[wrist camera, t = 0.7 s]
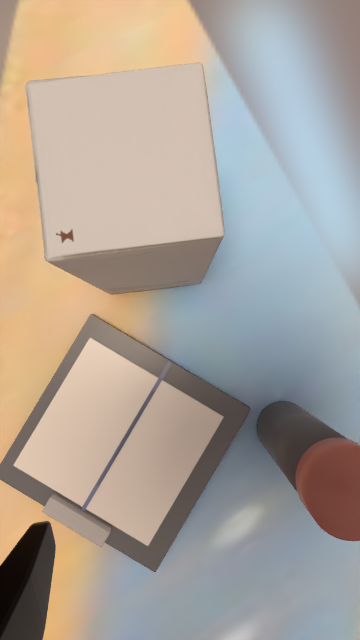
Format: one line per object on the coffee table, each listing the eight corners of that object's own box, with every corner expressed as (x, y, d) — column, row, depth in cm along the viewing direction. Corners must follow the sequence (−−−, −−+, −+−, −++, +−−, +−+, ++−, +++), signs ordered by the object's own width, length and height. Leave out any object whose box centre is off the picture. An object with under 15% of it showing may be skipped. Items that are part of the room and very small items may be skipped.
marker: (292, 464, 25) (369, 557, 15) (245, 436, 25) (290, 510, 15) (319, 417, 25) (414, 478, 15) (272, 389, 25) (336, 431, 15)
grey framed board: (155, 566, 25) (154, 581, 23) (-2, 472, 25) (-13, 480, 23) (248, 407, 25) (253, 412, 23) (92, 314, 25) (87, 313, 24)
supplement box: (203, 285, 25) (228, 243, 12) (108, 295, 25) (36, 264, 12) (192, 191, 25) (207, 56, 13) (98, 201, 25) (17, 75, 13)
